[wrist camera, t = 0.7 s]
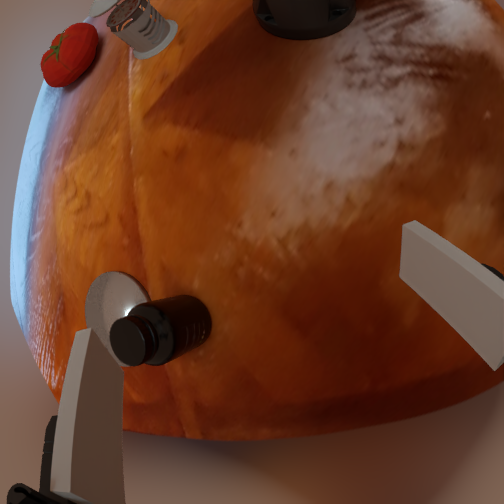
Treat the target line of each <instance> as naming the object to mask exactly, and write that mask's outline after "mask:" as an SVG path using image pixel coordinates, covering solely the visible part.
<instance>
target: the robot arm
mask: <svg viewBox="0 0 504 504" xmlns="http://www.w3.org/2000/svg"><path fill="white" fill-rule="evenodd" d="M253 10H254V13H255V16H256V17H257V19H258V21H259V23H260V25H261V26H262V27H263V28H264V29H265V30H266V31H268V32H270V33H272V34H274V35H276V36H279V37H283V38H288V39H314V38H320V37H324V36H328V35H331V34H333V33H336V32H338V31H340V30H342V29H343V28H345V27H346V26H347V25H348V24H349V23H350V22H351V21H352V20H353V18H354V16H355V14H356V2H355V0H253ZM399 277H400V278H401V279H402V280H403V281H404V282H405V283H407V284H408V285H409V286H410V287H411V288H412V289H413V290H414V291H415V292H416V293H417V294H418V295H420V296H421V297H422V298H423V299H424V300H425V301H426V302H427V303H428V304H429V305H430V306H431V307H432V308H433V309H434V310H435V311H436V312H438V313H439V314H440V315H441V316H442V317H443V318H444V319H445V320H446V321H447V322H448V323H449V324H450V325H451V326H452V327H453V328H454V329H455V330H456V331H457V332H458V333H459V334H460V335H461V336H462V337H463V338H464V339H465V340H466V341H467V342H468V343H469V344H470V346H471V347H472V348H473V349H474V350H475V351H476V352H477V353H478V354H479V355H480V356H481V357H482V358H483V359H484V360H485V361H486V362H487V364H488V365H489V366H490V367H491V368H492V369H493V370H494V371H495V370H496V369H497V368H499V367H500V366H501V365H502V364H503V363H504V276H503V274H501V273H500V272H499V271H497V270H496V269H495V268H493V267H490V266H488V265H485V264H483V263H482V264H480V263H479V262H477V261H476V260H474V259H473V258H472V257H470V256H469V255H467V254H466V253H465V252H463V251H462V250H460V249H459V248H457V247H456V246H454V245H453V244H451V243H450V242H448V241H447V240H445V239H444V238H442V237H441V236H439V235H438V234H436V233H435V232H433V231H432V230H430V229H428V228H427V227H425V226H424V225H422V224H421V223H419V222H417V221H416V220H414V221H412V222H409V223H406V224H404V225H402V247H401V262H400V274H399ZM123 382H124V371H123V370H122V368H121V367H120V366H119V365H118V363H117V362H116V361H115V359H114V358H113V357H112V355H111V354H110V353H109V351H108V350H107V349H106V347H105V346H104V344H103V343H102V342H101V340H100V339H99V337H98V336H97V334H96V333H95V332H94V330H93V329H92V327H91V328H88V329H84V330H81V331H77V332H76V335H75V339H74V342H73V346H72V350H71V354H70V358H69V362H68V366H67V371H66V375H65V380H64V385H63V390H62V395H61V400H60V406H59V412H58V415H57V416H52V418H51V419H50V422H49V424H48V426H47V428H46V433H45V440H44V441H45V444H44V448H43V452H44V454H43V455H42V465H41V476H40V489H39V492H37V491H35V490H33V489H32V488H30V487H28V486H26V485H24V484H22V483H17V484H15V485H13V486H12V487H11V489H10V490H9V492H8V495H7V504H126V503H125V491H124V475H123V453H122V452H123V449H122V410H123Z"/></svg>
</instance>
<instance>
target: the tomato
mask: <svg viewBox="0 0 504 504" xmlns="http://www.w3.org/2000/svg"><path fill="white" fill-rule="evenodd" d="M63 32H64V31H63ZM98 39H99V38H98V34H97V30H96V28H95V27H94V26H93V25H90V24H88V23H77V24H74V25H71V26H70V27H69V28H67V29H66V30H65V33H61V34H58V35H57V36H56V37H55V39H54V40H53V41H52V45H51V47H50V50H48V51H47V52H46V53H45V54H44V55H43V57H42V61H41V70H42V72H43V76H44V79H45V81H46V82H47V84H48V85H50V86H51V87H64V86H67V85H69V84H70V83H72V82H74V81H75V80H76V79H77V78H78V77H79V76H80V75H81V74H82V73H83V72H84V71H85V70H86V69H87V68H88V67H89V66H90V65H91V63H92V61H93V59H94V57H95V53H96V46H97V44H98Z"/></svg>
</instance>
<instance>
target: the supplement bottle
mask: <svg viewBox="0 0 504 504" xmlns="http://www.w3.org/2000/svg"><path fill="white" fill-rule="evenodd" d="M210 329H211V321H210V316H209V313H208V311H207V309H206V308H205V306H204V305H203V304H202V303H201V302H200V301H199V300H198V299H196V298H194V297H192V296H188V295H180V296H174V297H169V298H164V299H159V300H154V301H149V302H144V303H141V304H138V305H136V306H134V307H133V308H132V309H131V310H130V311H129V313H128V314H127V316H125V317H123V318H120V319H117V320H116V321H115V322H114V323H113V324H112V326H111V328H110V332H109V333H110V335H109V338H110V345H111V347H112V350H113V352H114V354H115V355H116V357H117V358H118V359H119V360H120V361H121V362H122V363H123V364H126V365H129V366H138V365H141V364H143V363H145V364H148V365H152V366H160V365H163V364H166V363H168V362H170V361H172V360H174V359H176V358H178V357H179V356H181V355H183V354H185V353H187V352H189V351H191V350H193V349H194V348H196V347H198V346H200V345H201V344H202V343H204V342H205V340H206V339H207V338H208V336H209V333H210Z"/></svg>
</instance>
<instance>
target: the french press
mask: <svg viewBox="0 0 504 504" xmlns="http://www.w3.org/2000/svg"><path fill="white" fill-rule="evenodd" d="M119 1H120V0H95V1H94V2H93V4H92V5H91V8H90V12H89V16H90V17H98V16H101V15H103V14H104V13H106V12H108V11H109V10H110V9H112V8H113V7H114V6H115V5H116V6H117V7H116V8H115V9H114V11H112V12H111V14H110V16H109V17H108V19H107V26H108V27H110V29H111V32H113V33H114V34H115V35H116V36H118V37H119V38H121V39H122V40H123V41H125V42H126V43H127V44H128V45H130V47H132V48H134V49H133V53H134V56H135V57H136V58H138V59H147V58H150V57H152V56H154V55H156V54H158V53H159V52H160V51H162V50H163V49H164V48H166V47H167V45H168V44H169V43H170V42H171V41H172V40H173V38H174V36H175V35H176V33H177V27H178V25H177V24H176V22H175V21H173V20H165V19H164V18H163V17H162V16H161V15H160V13H159V12H158V11H157V10H156V9H155V8H154V7H153V6H151V4H150V1H149V0H148V2H147V1H146V0H125V1H123V2H122V3H121V4H119V5H117V3H118V2H119ZM140 4H141V9H140V8H139V6H140ZM143 7H144V8H145V11H143ZM150 14H151V15H152V19H151V18H150ZM131 18H132V19H133V20H132V21H130V22H128V23H127V24H126V25H125V26H124V28H123V30H122V31H120V30H121V27H122V25H123V24H124V23H125V22H126V21H127V20H129V19H131ZM155 18H156V19H157V20H156V22H154V19H155ZM130 24H131V25H130ZM118 25H119V27H118V32H117V30H116V26H118ZM129 25H130V26H129Z"/></svg>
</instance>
